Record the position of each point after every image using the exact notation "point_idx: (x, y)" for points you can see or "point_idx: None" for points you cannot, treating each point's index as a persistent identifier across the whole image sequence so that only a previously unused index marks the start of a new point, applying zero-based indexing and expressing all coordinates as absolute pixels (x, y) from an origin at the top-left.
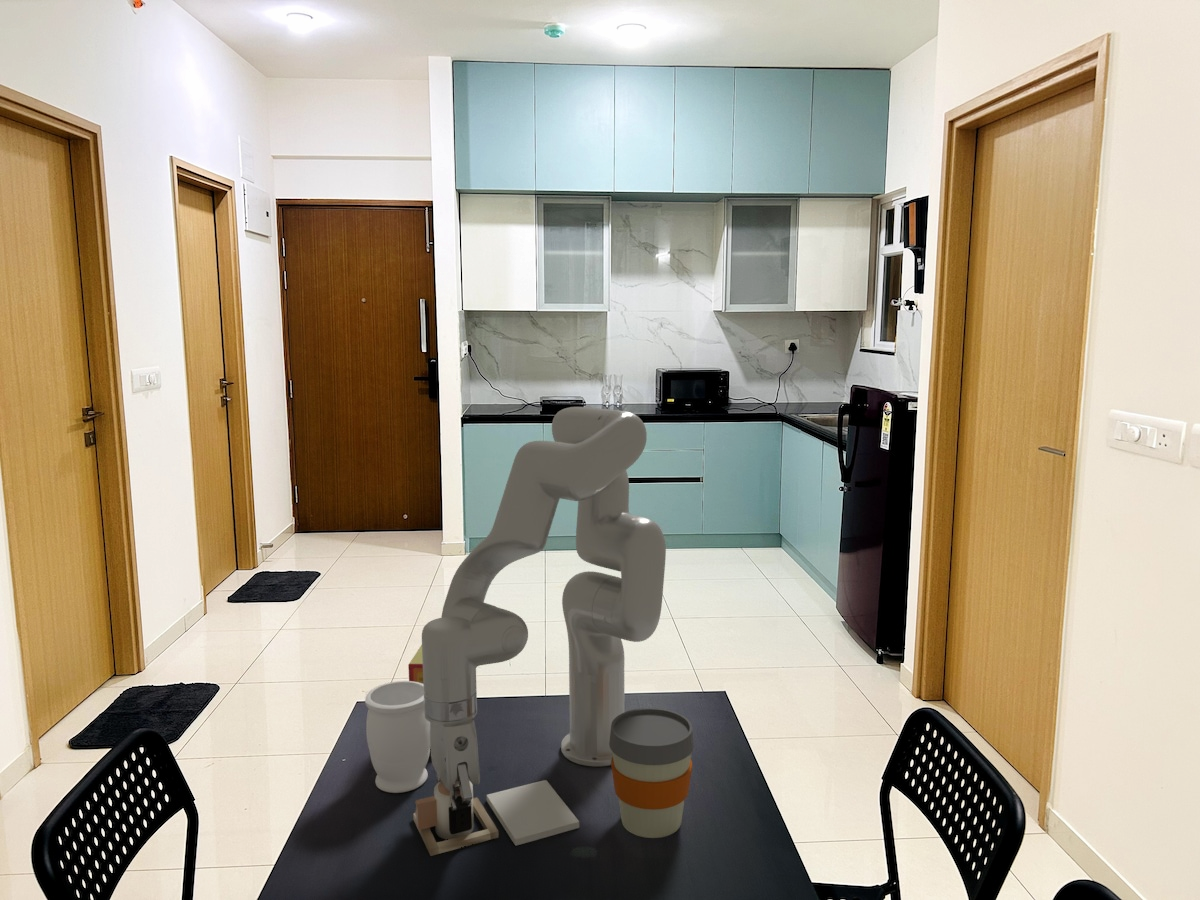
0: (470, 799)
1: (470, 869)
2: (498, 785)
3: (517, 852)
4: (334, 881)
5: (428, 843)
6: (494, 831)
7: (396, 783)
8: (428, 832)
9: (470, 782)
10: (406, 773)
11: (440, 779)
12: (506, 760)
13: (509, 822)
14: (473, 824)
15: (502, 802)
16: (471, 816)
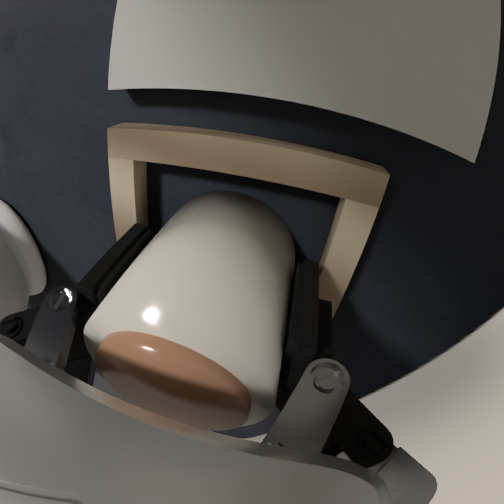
0: (423, 471)
1: (431, 309)
2: (69, 29)
3: (486, 174)
4: (265, 423)
5: None
6: (382, 189)
7: (31, 286)
8: None
9: (148, 319)
10: (16, 292)
11: (93, 368)
12: (5, 4)
13: (369, 99)
14: (265, 213)
15: (191, 44)
16: (317, 296)
